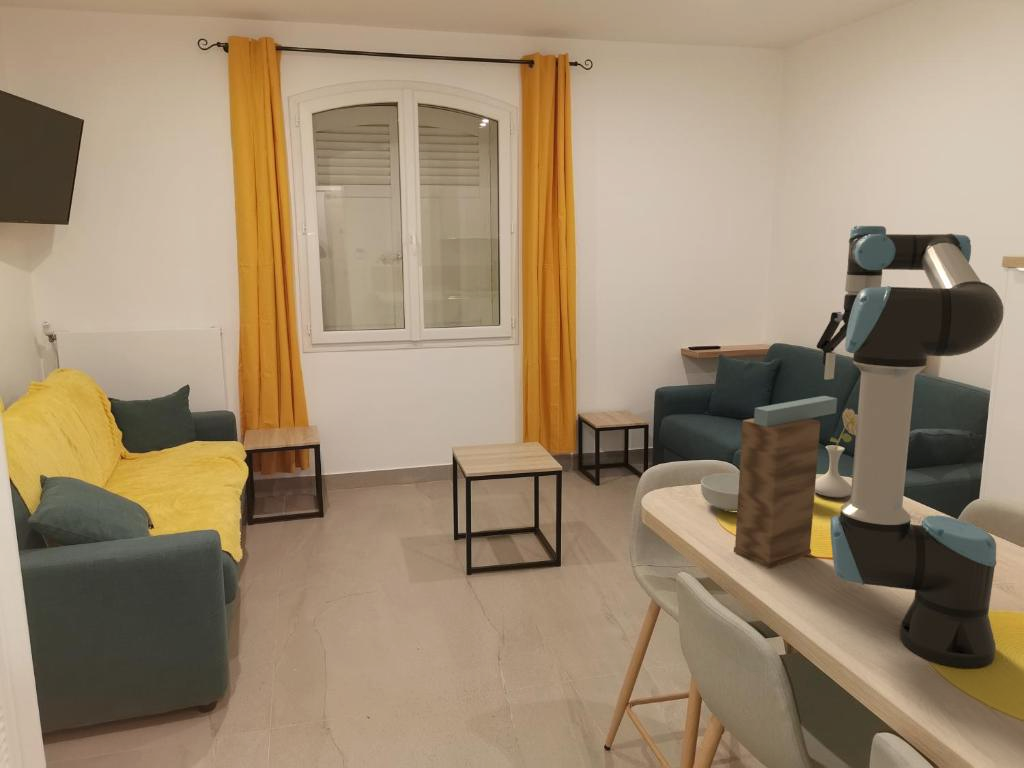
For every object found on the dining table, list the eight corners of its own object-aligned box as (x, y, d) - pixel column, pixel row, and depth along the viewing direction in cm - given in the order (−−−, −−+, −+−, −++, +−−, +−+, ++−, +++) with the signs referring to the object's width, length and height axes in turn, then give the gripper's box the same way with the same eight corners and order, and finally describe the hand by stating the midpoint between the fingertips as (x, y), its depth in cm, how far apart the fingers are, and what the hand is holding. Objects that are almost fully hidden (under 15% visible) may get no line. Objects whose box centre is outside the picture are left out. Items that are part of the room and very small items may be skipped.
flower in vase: (827, 502, 212) (834, 415, 207) (801, 489, 223) (808, 405, 218) (866, 498, 216) (875, 412, 211) (839, 485, 226) (847, 403, 221)
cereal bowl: (697, 515, 203) (699, 489, 202) (701, 494, 219) (702, 470, 218) (764, 522, 199) (766, 496, 197) (763, 500, 214) (765, 476, 213)
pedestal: (810, 554, 179) (821, 421, 172) (769, 568, 171) (779, 430, 165) (774, 539, 187) (783, 412, 181) (733, 552, 180) (741, 420, 174)
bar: (836, 412, 180) (837, 398, 180) (766, 426, 168) (767, 411, 167) (823, 410, 183) (824, 395, 182) (753, 423, 171) (754, 408, 170)
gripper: (924, 296, 169) (914, 390, 173) (825, 289, 190) (818, 374, 194) (905, 297, 165) (895, 394, 169) (806, 290, 186) (799, 376, 190)
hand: (854, 383), depth 182 cm, fingers open, 13 cm apart
